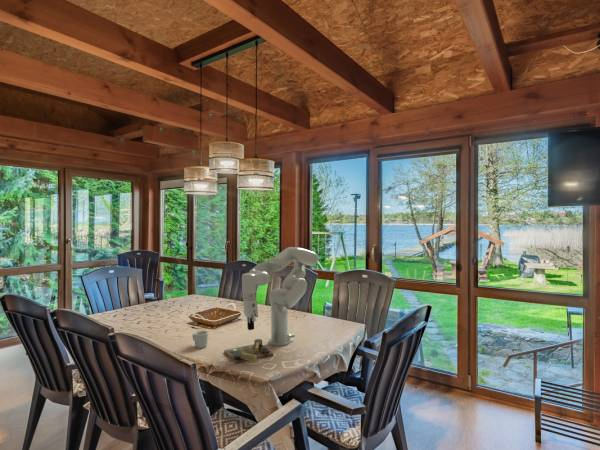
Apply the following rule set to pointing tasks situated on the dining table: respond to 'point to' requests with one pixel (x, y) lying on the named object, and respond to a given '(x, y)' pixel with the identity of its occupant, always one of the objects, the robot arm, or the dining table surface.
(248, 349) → the base plate
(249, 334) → the dining table surface
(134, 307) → the dining table surface
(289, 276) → the robot arm
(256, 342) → the ball knob lever
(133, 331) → the dining table surface
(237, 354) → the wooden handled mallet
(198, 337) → the cup
